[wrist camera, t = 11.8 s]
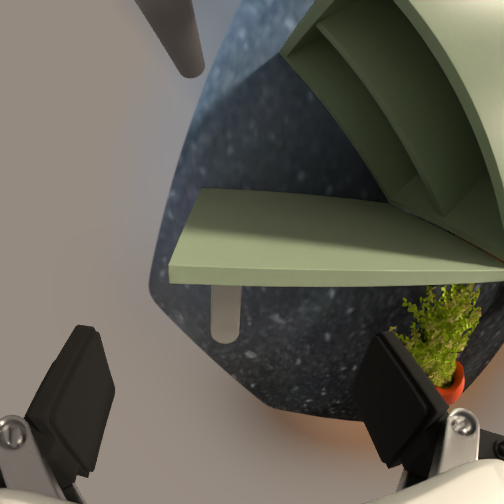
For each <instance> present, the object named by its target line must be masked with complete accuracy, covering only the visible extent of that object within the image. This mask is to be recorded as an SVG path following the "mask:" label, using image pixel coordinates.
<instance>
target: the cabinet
mask: <svg viewBox="0 0 504 504" xmlns="http://www.w3.org/2000/svg"><path fill="white" fill-rule="evenodd" d="M279 54H280V55H281V56H282V57H283V58H284V59H285V60H286V62H287V63H288V64H289V65H290V66H291V67H292V68H293V69H294V70H295V72H296V73H297V74H298V75H299V76H300V77H301V78H302V80H303V81H304V82H305V83H306V84H307V86H308V87H309V88H310V89H311V90H312V92H313V93H314V94H315V95H316V96H317V98H318V99H319V100H320V101H321V103H322V104H323V105H324V107H325V108H326V109H327V110H328V112H329V113H330V114H331V116H332V117H333V118H334V120H335V121H336V122H337V124H338V125H339V126H340V128H341V129H342V130H343V132H344V133H345V135H346V136H347V137H348V139H349V140H350V142H351V143H352V145H353V146H354V148H355V149H356V150H357V152H358V153H359V155H360V156H361V158H362V159H363V161H364V163H365V164H366V166H367V167H368V169H369V170H370V172H371V173H372V175H373V177H374V178H375V180H376V181H377V183H378V185H379V186H380V188H381V190H382V191H383V193H384V195H385V196H386V198H387V200H388V202H389V203H390V204H392V205H395V206H397V207H399V208H401V209H404V210H406V211H408V212H410V213H413V214H415V215H417V216H419V217H421V218H423V219H425V220H427V221H429V222H432V223H434V224H436V225H438V226H440V227H442V228H444V229H446V230H448V231H450V232H452V233H454V234H456V235H457V236H459V237H461V238H463V239H465V240H467V241H469V242H471V243H472V244H474V245H476V246H478V247H480V248H482V249H483V250H485V251H487V252H489V253H490V254H492V255H494V256H495V257H497V258H499V259H501V260H502V261H504V0H316V1H315V2H314V4H313V5H312V6H311V8H310V9H309V10H308V12H307V13H306V14H305V16H304V17H303V19H302V20H301V21H300V23H299V24H298V26H297V27H296V28H295V30H294V31H293V33H292V34H291V35H290V37H289V38H288V40H287V41H286V43H285V44H284V46H283V47H282V49H281V50H280V52H279Z"/></svg>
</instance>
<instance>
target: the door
mask: <svg viewBox="0 0 504 504" xmlns="http://www.w3.org/2000/svg"><path fill="white" fill-rule="evenodd" d="M168 275H169V283H172V284H196V285H211V336H212V338H213V339H214V340H215V341H217V342H219V343H224V344H226V343H231V342H233V341H234V340H236V339H237V337H238V335H239V323H240V308H241V294H242V286H271V287H371V286H413V285H441V284H463V283H481V282H497V281H504V264H503V263H502V262H500V261H498V260H497V259H495V258H493V257H491V256H490V255H488V254H486V253H485V252H483V251H481V250H479V249H478V248H476V247H474V246H472V245H470V244H469V243H467V242H465V241H463V240H461V239H459V238H457V237H456V236H454V235H452V234H450V233H448V232H446V231H444V230H442V229H440V228H438V227H436V226H434V225H432V224H430V223H428V222H426V221H424V220H422V219H420V218H418V217H415V216H413V215H411V214H409V213H407V212H405V211H403V210H400V209H398V208H396V207H394V206H391V205H389V204H387V203H380V202H372V201H364V200H356V199H347V198H338V197H328V196H318V195H308V194H296V193H284V192H270V191H255V190H238V189H216V188H201V190H200V193H199V195H198V197H197V199H196V201H195V204H194V206H193V208H192V210H191V212H190V215H189V217H188V219H187V222H186V224H185V226H184V228H183V231H182V233H181V235H180V238H179V240H178V242H177V245H176V247H175V250H174V252H173V255H172V257H171V259H170V262H169V264H168Z"/></svg>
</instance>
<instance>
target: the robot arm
mask: <svg viewBox="0 0 504 504" xmlns="http://www.w3.org/2000/svg"><path fill="white" fill-rule="evenodd" d="M114 395H115V386H114V383H113V379H112V376H111V373H110V370H109V366H108V363H107V359H106V356H105V352H104V348H103V345H102V341H101V337H100V334H99V332H96V331H95V329H94V327H91V326H84V325H77V326H76V327H75V329H74V330H73V332H72V333H71V335H70V337H69V339H68V340H67V342H66V343H65V345H64V347H63V348H62V350H61V352H60V353H59V355H58V357H57V359H56V360H55V361H54V362H53V363H52V365H51V367H50V368H49V370H48V372H47V374H46V376H45V377H44V379H43V381H42V383H41V385H40V387H39V389H38V391H37V392H36V395H35V397H34V399H33V401H32V403H31V404H30V406H29V408H28V411H27V413H26V415H25V417H24V419H23V418H22V417H20V416H16V415H8V416H5V417H3V418H1V419H0V504H86V502H85V500H84V498H83V497H82V495H81V493H80V492H79V490H78V488H77V486H76V485H75V480H76V476H77V475H80V476H83V477H86V478H88V476H89V472H93V471H94V469H95V465H96V461H97V457H98V452H99V449H100V445H101V441H102V437H103V434H104V430H105V426H106V423H107V419H108V416H109V412H110V409H111V405H112V402H113V399H114ZM351 395H352V398H353V400H354V402H355V404H356V406H357V408H358V411H359V413H360V415H361V417H362V419H363V421H364V423H365V426H366V428H367V430H368V432H369V434H370V437H371V439H372V441H373V443H374V445H375V448H376V450H377V452H378V454H379V457H380V458H381V461H382V462H383V463H386V465H387V467H388V469H389V468H392V467H395V466H398V465H400V464H401V463H402V465H403V467H404V469H403V472H402V476H401V478H400V481H399V484H398V487H397V489H396V492H395V493H393V494H390V495H388V496H385V497H382V498H379V499H376V500H373V501H370V502H367V503H364V504H504V436H502V435H499V434H496V433H492V432H489V431H486V430H483V429H480V426H479V421H478V419H477V417H476V416H475V415H474V414H473V413H472V412H470V411H469V410H467V409H464V408H455V409H453V410H452V411H451V412H450V413H449V414H448V413H447V409H448V408H449V405H448V404H447V403H446V401H445V400H444V398H443V397H442V396H441V394H440V393H439V391H438V390H437V389H436V387H435V386H434V385H433V383H432V382H431V380H430V379H429V378H428V376H427V375H426V374H425V372H424V371H423V370H422V368H421V367H420V366H419V364H418V363H417V362H416V360H415V359H414V358H413V356H412V355H411V354H410V353H409V351H408V350H407V349H406V347H405V346H404V345H403V344H402V342H401V341H400V340H399V338H398V337H397V336H396V335H395V333H394V332H393V331H384V332H377V333H376V334H375V336H374V337H372V338H371V340H370V343H369V346H368V348H367V351H366V353H365V356H364V358H363V361H362V363H361V365H360V368H359V370H358V373H357V375H356V377H355V379H354V382H353V384H352V386H351Z"/></svg>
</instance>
